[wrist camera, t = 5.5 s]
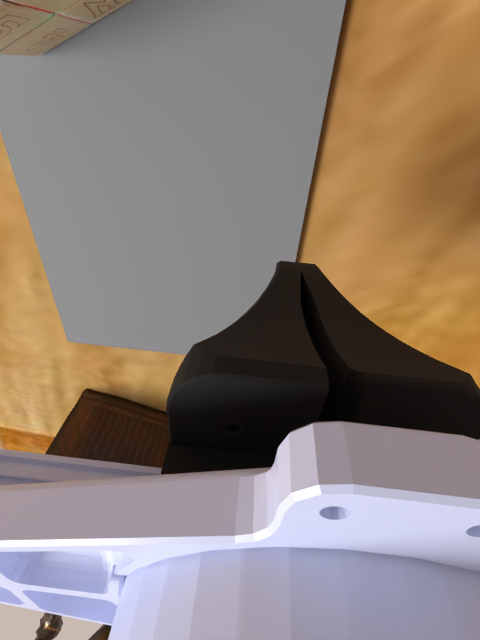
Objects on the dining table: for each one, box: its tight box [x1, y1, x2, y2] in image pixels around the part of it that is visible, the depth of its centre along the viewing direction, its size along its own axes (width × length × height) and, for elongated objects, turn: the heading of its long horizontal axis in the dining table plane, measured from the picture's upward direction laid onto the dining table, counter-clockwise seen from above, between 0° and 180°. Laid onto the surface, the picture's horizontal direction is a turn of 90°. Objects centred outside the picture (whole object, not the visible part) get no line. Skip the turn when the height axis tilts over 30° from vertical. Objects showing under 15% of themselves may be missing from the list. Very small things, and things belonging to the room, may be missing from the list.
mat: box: [0, 0, 346, 355], centre depth 19 cm, size 16×24×1 cm, turn 176°
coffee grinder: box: [35, 389, 169, 640], centre depth 26 cm, size 16×11×18 cm
